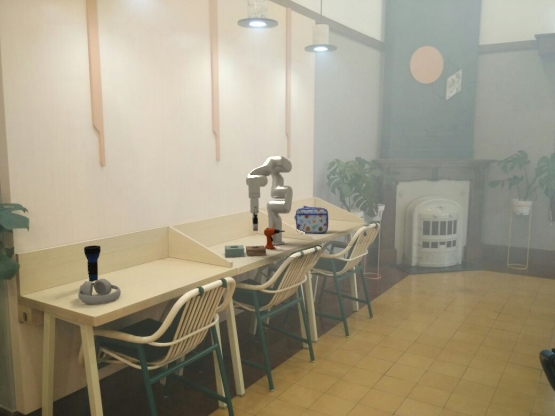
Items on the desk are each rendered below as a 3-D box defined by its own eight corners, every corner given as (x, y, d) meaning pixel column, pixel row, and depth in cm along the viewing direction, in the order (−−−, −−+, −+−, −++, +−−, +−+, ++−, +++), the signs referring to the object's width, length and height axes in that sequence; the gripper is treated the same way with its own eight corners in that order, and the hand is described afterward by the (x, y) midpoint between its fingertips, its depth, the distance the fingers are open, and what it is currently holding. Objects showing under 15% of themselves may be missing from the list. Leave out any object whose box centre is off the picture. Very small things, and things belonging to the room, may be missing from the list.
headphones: (72, 296, 236) (84, 312, 221) (72, 280, 235) (84, 295, 219) (111, 289, 247) (125, 304, 232) (111, 274, 245) (125, 288, 230)
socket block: (246, 252, 331) (245, 246, 331) (264, 251, 333) (263, 245, 332) (247, 256, 320) (247, 249, 319) (266, 255, 321) (265, 249, 321)
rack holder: (224, 253, 330) (224, 245, 329) (243, 252, 331) (242, 244, 331) (225, 257, 318) (225, 249, 317) (244, 256, 319) (244, 248, 319)
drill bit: (252, 230, 326) (252, 215, 325) (257, 229, 327) (257, 214, 325) (253, 231, 323) (252, 215, 322) (258, 230, 323) (257, 215, 322)
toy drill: (284, 249, 330) (281, 227, 330) (263, 249, 342) (261, 228, 342) (289, 248, 334) (286, 226, 333) (268, 248, 346) (265, 227, 346)
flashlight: (105, 284, 258) (103, 246, 255) (90, 287, 252) (87, 248, 250) (98, 281, 263) (96, 244, 261) (83, 284, 258) (81, 246, 255)
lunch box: (293, 234, 398) (293, 206, 395) (295, 231, 408) (294, 205, 406) (328, 234, 394) (328, 206, 392) (328, 232, 404) (328, 205, 402)
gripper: (247, 194, 329) (248, 221, 332) (249, 197, 313) (250, 225, 316) (259, 194, 330) (259, 221, 333) (261, 196, 314) (262, 225, 317)
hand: (255, 223), depth 324 cm, fingers closed on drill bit, 3 cm apart
